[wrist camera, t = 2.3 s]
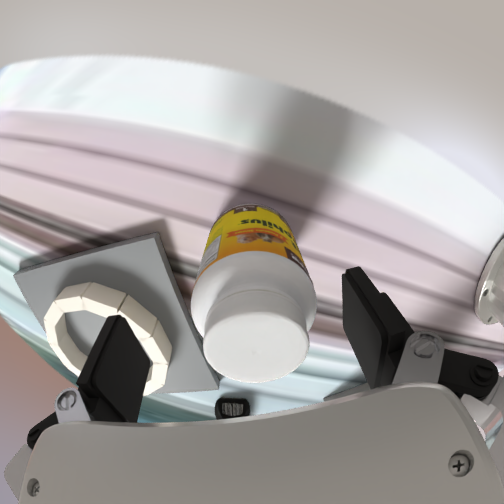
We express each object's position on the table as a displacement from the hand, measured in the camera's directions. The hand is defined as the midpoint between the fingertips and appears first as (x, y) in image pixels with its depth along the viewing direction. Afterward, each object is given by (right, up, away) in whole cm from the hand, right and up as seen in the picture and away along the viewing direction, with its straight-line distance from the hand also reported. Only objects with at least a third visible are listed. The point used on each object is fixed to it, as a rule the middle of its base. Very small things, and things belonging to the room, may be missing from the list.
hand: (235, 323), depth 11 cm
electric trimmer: (-2, -19, +19) cm, 27 cm away
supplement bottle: (+1, +4, +8) cm, 9 cm away
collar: (-12, -4, +11) cm, 17 cm away
